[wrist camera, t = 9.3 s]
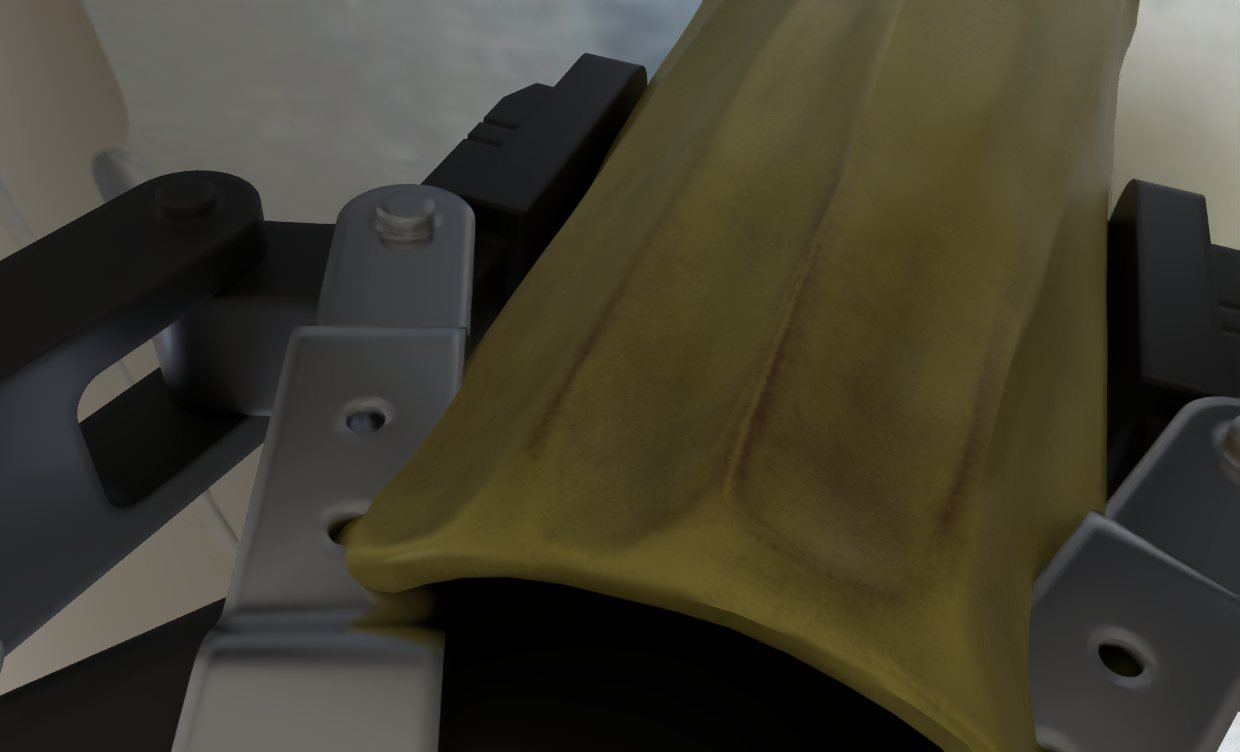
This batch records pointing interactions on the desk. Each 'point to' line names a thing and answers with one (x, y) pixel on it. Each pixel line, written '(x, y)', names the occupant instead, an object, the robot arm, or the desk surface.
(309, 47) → the desk surface
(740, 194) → the vase
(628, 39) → the desk surface
